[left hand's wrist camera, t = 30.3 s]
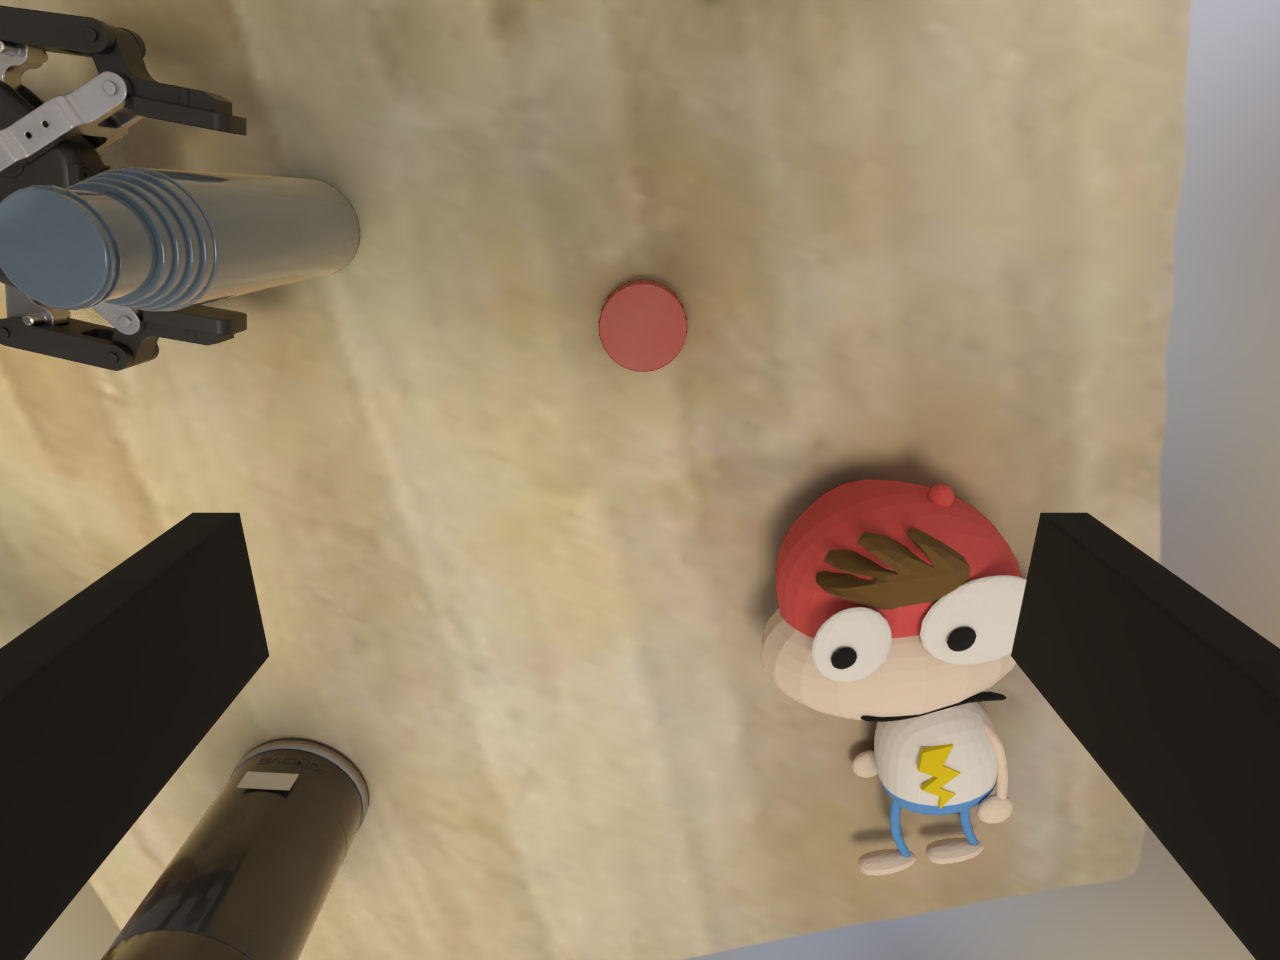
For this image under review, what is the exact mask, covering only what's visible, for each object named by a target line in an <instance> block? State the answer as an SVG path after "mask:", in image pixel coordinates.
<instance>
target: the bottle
mask: <svg viewBox="0 0 1280 960" xmlns="http://www.w3.org/2000/svg"><path fill="white" fill-rule="evenodd" d="M359 237H360V232H359V224H358V220H357V216H356V214H355V212H354V210H353V208H352V206H351V204H350V203H349V202H348V200H347V199H346V198H345V197H344V196H343V194H341V193H340V192H339V191H338V190H337V189H335V188H334V187H332V186H331V185H329V184H327V183H325V182H322V181H319V180H315V179H306V178H291V177H276V176H261V175H246V174H232V173H217V172H202V171H187V170H172V169H157V168H142V167H124V168H119V169H112V170H107V171H104V172H101V173H98V174H96V175H95V176H92V177H89V178H87V179H86V180H83V181H81V182H79V183H77V184H75V185H72V186H70V187H68V188H66V189H63V188H60V187H56V186H50V185H33V186H29V187H26V188H22V189H19V190H17V191H16V192H14V193H12V194H10V195H9V196H7V197H6V198H5V199H4V200H2V202H1V203H0V267H1V269H2V271H3V272H4V273H5V275H6V276H7V277H8V279H9V280H10V281H11V282H12V283H13V284H14V285H15V286H16V287H17V288H18V289H19V290H21V291H22V292H23V293H25V294H26V295H28V296H29V297H31V298H33V299H35V300H37V301H39V302H41V303H42V304H44V305H46V306H50V307H53V308H57V309H60V310H79V309H82V308H83V309H84V308H88V307H92V306H96V305H99V304H101V303H102V302H104V303H109V304H114V305H119V306H124V307H128V308H133V309H139V310H143V311H173V310H179V309H183V308H188V307H192V306H196V305H200V304H205V303H209V302H213V301H217V300H222V299H226V298H230V297H234V296H239V295H243V294H247V293H252V292H256V291H260V290H264V289H269V288H273V287H277V286H281V285H286V284H290V283H294V282H298V281H303V280H307V279H311V278H315V277H320V276H324V275H328V274H332V273H335V272H337V271H339V270H341V269H343V268H344V267H345V266H346V265H347V264H348V263H349V262H350V261H351V260H352V259H353V257H354V255H355V253H356V251H357V248H358V244H359Z"/></svg>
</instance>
